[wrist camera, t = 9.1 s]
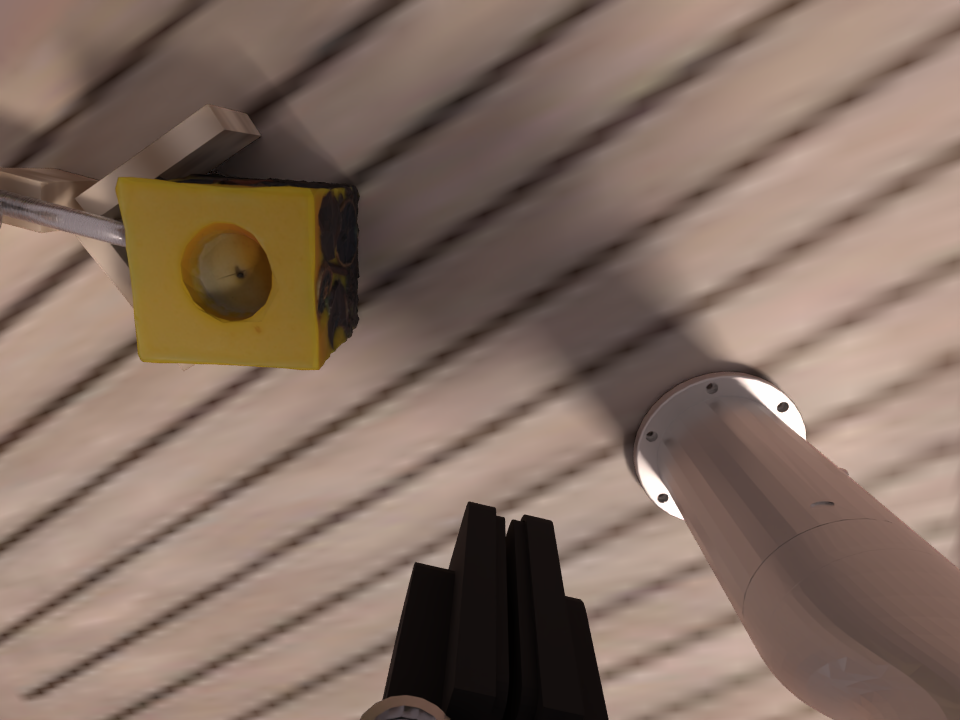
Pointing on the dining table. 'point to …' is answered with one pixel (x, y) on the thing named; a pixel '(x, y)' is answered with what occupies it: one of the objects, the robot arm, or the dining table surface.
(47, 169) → the centring jig
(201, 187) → the candle
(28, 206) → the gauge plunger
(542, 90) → the dining table surface
